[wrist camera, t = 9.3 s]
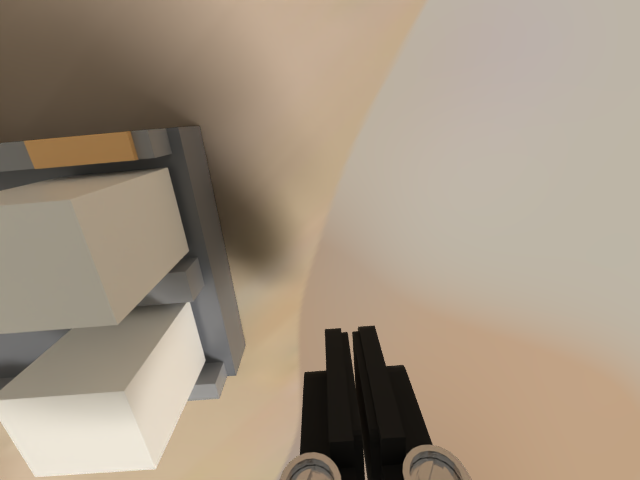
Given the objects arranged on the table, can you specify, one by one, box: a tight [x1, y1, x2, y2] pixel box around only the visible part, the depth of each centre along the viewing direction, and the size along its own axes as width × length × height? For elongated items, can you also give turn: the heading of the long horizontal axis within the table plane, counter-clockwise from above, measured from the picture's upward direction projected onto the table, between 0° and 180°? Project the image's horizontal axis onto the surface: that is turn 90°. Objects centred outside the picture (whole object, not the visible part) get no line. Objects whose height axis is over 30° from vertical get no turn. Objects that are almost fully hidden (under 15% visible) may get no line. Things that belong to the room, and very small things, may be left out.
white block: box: [0, 167, 189, 334], centre depth 9 cm, size 3×4×4 cm
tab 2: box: [0, 302, 206, 477], centre depth 11 cm, size 3×4×4 cm
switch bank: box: [0, 126, 246, 401], centre depth 13 cm, size 10×12×3 cm
